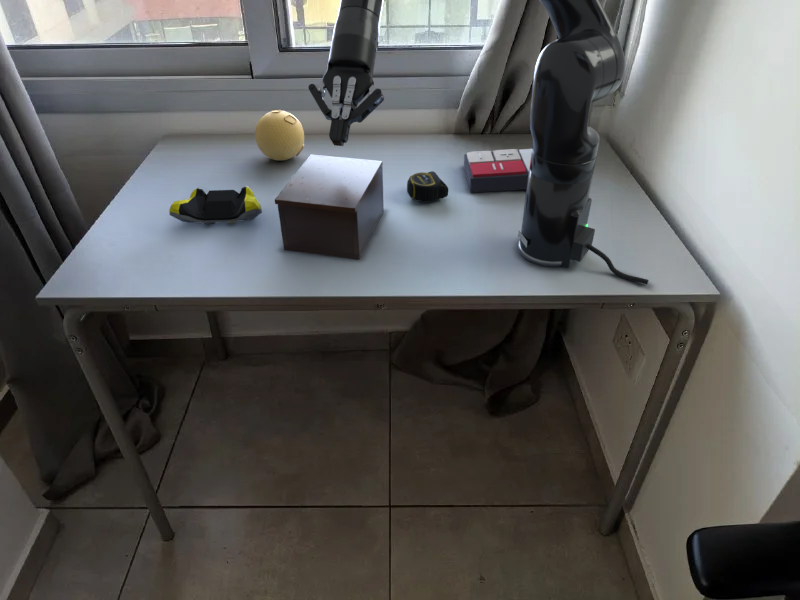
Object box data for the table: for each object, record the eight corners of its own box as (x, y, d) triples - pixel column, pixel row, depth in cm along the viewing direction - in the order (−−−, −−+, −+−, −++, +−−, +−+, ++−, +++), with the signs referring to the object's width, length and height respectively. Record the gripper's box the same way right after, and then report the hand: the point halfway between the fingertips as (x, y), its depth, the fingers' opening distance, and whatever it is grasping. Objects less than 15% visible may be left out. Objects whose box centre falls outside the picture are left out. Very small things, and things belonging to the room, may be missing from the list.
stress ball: (298, 170, 124) (293, 121, 118) (251, 167, 126) (244, 119, 119) (312, 149, 132) (307, 103, 126) (267, 147, 133) (261, 101, 127)
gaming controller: (262, 233, 105) (268, 204, 113) (257, 204, 102) (264, 177, 110) (172, 236, 104) (184, 207, 112) (164, 207, 101) (177, 179, 109)
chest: (359, 259, 99) (356, 210, 93) (283, 250, 101) (276, 201, 95) (383, 211, 111) (382, 165, 105) (315, 204, 113) (311, 158, 108)
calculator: (463, 150, 123) (539, 145, 123) (463, 170, 125) (537, 165, 125) (470, 175, 114) (552, 169, 114) (470, 195, 117) (550, 190, 116)
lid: (355, 213, 93) (355, 208, 92) (274, 204, 95) (274, 199, 94) (382, 165, 105) (382, 160, 105) (311, 158, 108) (310, 154, 107)
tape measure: (449, 202, 113) (450, 184, 111) (413, 208, 112) (414, 189, 109) (436, 186, 118) (436, 168, 116) (402, 191, 117) (402, 173, 115)
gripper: (309, 29, 100) (291, 131, 98) (389, 33, 98) (372, 138, 96) (322, 54, 107) (305, 149, 105) (397, 58, 105) (381, 156, 103)
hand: (337, 143), depth 101 cm, fingers closed
